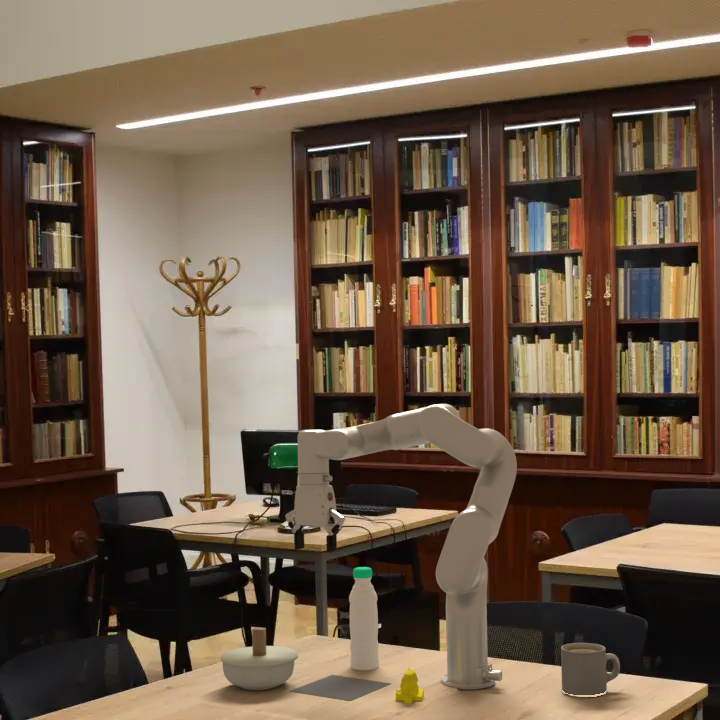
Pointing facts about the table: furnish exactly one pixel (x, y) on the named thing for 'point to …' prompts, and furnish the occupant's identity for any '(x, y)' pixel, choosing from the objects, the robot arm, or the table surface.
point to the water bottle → (363, 621)
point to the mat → (340, 687)
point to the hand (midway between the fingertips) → (315, 550)
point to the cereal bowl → (258, 676)
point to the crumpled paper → (409, 688)
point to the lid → (259, 653)
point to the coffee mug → (586, 668)
